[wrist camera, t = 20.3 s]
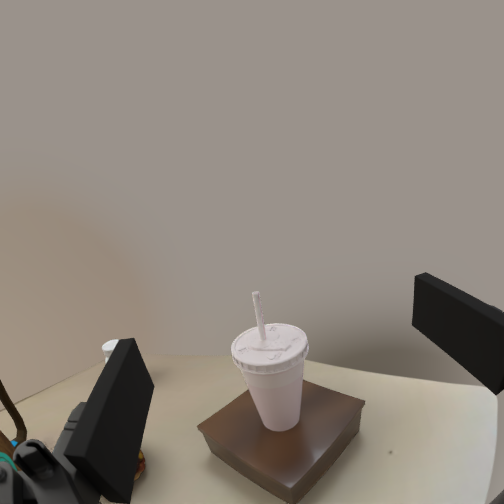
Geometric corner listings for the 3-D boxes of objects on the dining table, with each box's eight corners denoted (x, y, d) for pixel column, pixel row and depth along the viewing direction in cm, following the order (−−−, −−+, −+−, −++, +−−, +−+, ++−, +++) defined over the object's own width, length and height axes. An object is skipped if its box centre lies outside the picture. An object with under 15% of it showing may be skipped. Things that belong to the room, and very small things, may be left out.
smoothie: (276, 390, 30) (257, 274, 26) (325, 409, 25) (319, 283, 22) (236, 424, 25) (202, 303, 22) (287, 451, 21) (266, 322, 17)
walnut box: (361, 428, 26) (365, 400, 25) (293, 508, 18) (290, 488, 17) (278, 396, 35) (274, 368, 34) (208, 451, 27) (196, 425, 25)
